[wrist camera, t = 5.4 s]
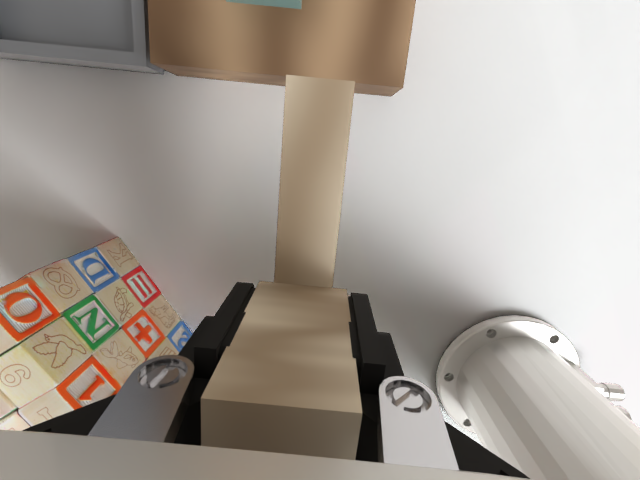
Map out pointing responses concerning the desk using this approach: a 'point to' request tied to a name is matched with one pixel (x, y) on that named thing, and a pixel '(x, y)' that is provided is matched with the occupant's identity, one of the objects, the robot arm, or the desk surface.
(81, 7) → the box
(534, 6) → the desk surface
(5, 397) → the stack of blocks
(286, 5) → the teal block
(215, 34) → the brown wooden board
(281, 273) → the scraper
